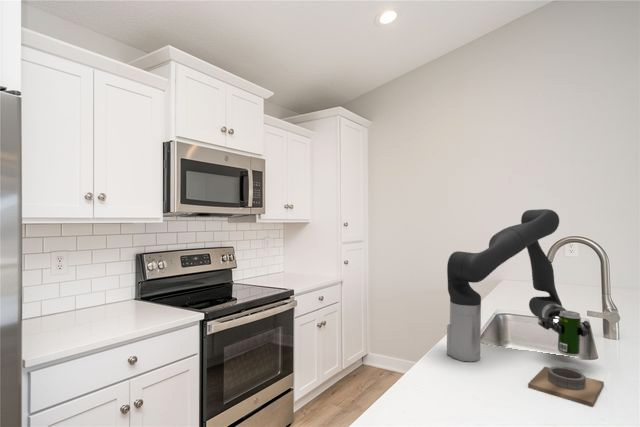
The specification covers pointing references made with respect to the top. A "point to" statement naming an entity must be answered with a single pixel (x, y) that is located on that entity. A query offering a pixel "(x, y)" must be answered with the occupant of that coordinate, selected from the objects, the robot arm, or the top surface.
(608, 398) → the top surface
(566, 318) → the beer can
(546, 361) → the top surface
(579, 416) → the top surface
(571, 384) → the can holder
